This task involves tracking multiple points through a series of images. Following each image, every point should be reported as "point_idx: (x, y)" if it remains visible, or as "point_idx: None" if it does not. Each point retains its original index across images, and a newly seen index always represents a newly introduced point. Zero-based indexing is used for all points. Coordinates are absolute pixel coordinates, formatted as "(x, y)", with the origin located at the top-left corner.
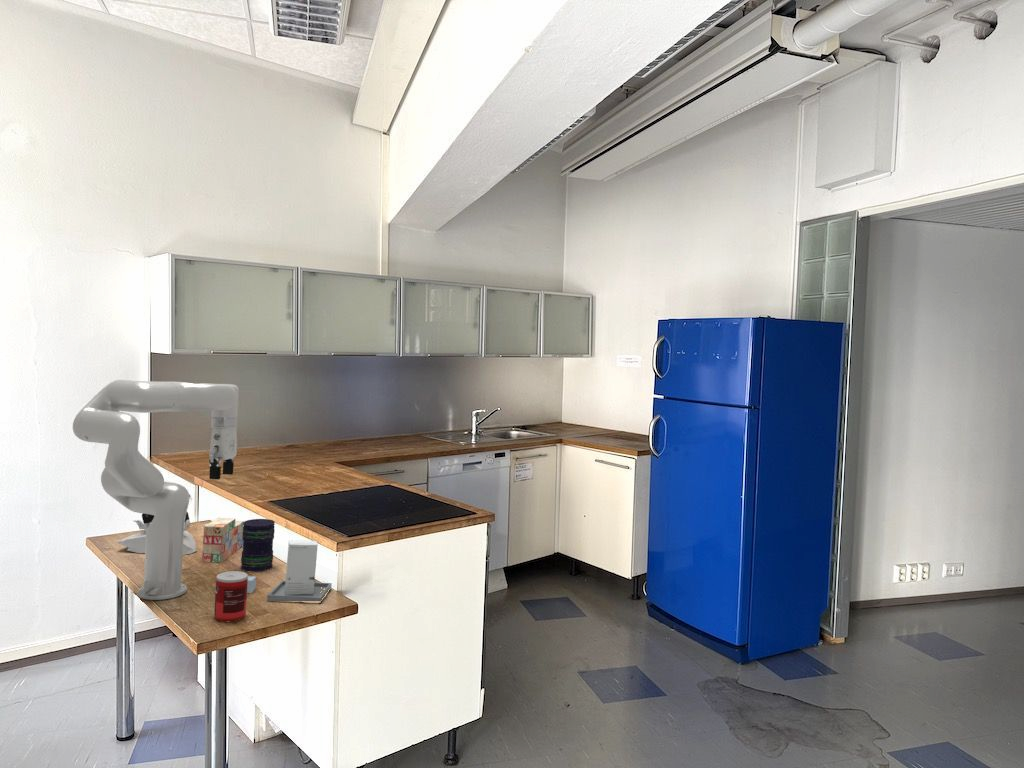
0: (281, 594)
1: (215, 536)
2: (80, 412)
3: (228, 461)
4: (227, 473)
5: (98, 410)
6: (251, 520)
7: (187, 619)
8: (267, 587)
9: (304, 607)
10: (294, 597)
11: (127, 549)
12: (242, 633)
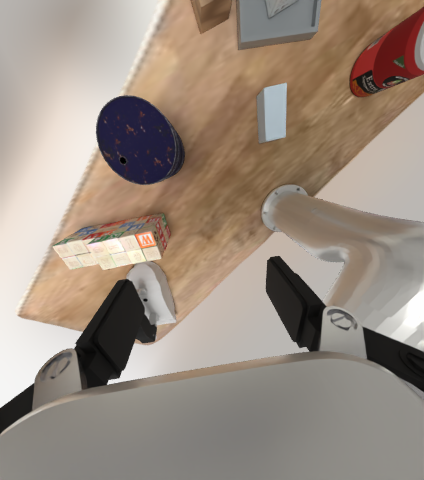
0: (293, 13)
1: (159, 234)
2: None
3: (100, 366)
4: (137, 296)
5: None
6: (129, 175)
7: (367, 129)
8: (245, 78)
9: None
10: None
11: (174, 309)
12: None
